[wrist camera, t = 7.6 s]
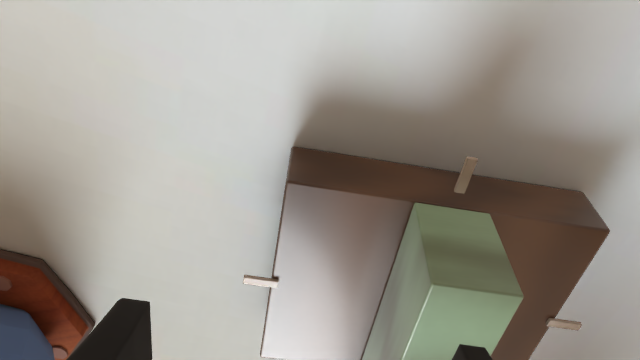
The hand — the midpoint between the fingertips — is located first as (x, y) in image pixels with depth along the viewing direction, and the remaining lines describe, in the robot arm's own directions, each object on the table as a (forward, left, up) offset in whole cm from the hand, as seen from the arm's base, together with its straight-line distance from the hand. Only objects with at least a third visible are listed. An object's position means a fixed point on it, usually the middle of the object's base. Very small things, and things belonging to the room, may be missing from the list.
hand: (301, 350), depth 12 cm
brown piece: (-5, +5, -9) cm, 12 cm away
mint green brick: (-5, +5, -7) cm, 10 cm away
